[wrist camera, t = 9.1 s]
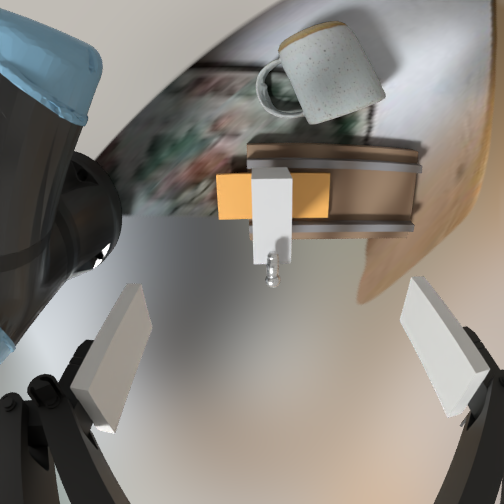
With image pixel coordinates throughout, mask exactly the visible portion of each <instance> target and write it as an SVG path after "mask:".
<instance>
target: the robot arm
mask: <svg viewBox="0 0 504 504" xmlns="http://www.w3.org/2000/svg"><path fill="white" fill-rule="evenodd" d="M102 69H103V66H102V59H101V57H100V54H99V53H98V51H97V50H96V49H95V48H94V47H93V46H91V45H89V44H87V43H85V42H83V41H81V40H79V39H77V38H75V37H72V36H70V35H68V34H66V33H63V32H61V31H59V30H56V29H54V28H51V27H49V26H47V25H44V24H42V23H39V22H37V21H34V20H32V19H29V18H27V17H24V16H21V15H18V14H15V13H13V12H10V11H7V10H4V9H1V8H0V364H1V363H2V362H3V361H4V360H5V359H6V357H7V356H8V355H9V354H10V353H11V352H14V350H15V349H16V347H15V346H16V344H17V343H18V342H19V341H20V339H21V338H22V336H23V335H24V333H25V332H26V331H27V329H28V328H29V327H30V326H31V324H32V323H33V322H34V320H35V319H36V318H37V316H38V315H39V313H40V312H41V311H42V310H43V309H44V308H45V306H46V305H47V304H48V303H49V301H50V300H51V299H52V297H53V296H54V295H55V294H56V293H57V291H58V290H59V289H60V288H61V286H62V285H63V284H64V283H65V282H66V281H67V280H69V279H72V278H74V277H76V276H79V275H81V274H83V273H86V272H88V271H90V270H92V269H94V268H96V267H97V266H98V265H100V264H101V263H102V262H103V261H104V260H105V259H106V258H107V256H108V255H109V254H110V253H111V252H112V250H113V249H114V247H115V246H116V244H117V241H118V239H119V236H120V232H121V226H122V211H121V204H120V200H119V197H118V194H117V191H116V189H115V186H114V184H113V183H112V181H111V179H110V178H109V176H108V175H107V173H106V172H105V171H104V170H103V168H102V167H101V166H100V165H99V164H98V163H96V162H95V161H94V160H92V159H91V158H89V157H88V156H86V155H84V154H82V153H78V152H75V151H74V149H75V146H76V144H77V141H78V138H79V135H80V133H81V130H82V128H83V126H85V125H86V123H87V121H88V116H87V113H88V110H89V107H90V105H91V101H92V99H93V96H94V93H95V90H96V88H97V85H98V83H99V80H100V78H101V75H102ZM400 322H401V324H402V326H403V328H404V330H405V332H406V334H407V335H408V337H409V339H410V341H411V343H412V345H413V347H414V349H415V351H416V353H417V355H418V357H419V358H420V361H421V363H422V365H423V367H424V369H425V371H426V373H427V375H428V377H429V379H430V381H431V383H432V385H433V387H434V389H435V391H436V393H437V396H438V398H439V400H440V402H441V405H442V407H443V409H444V411H445V413H446V416H447V417H448V418H449V417H452V416H455V415H459V414H461V413H462V412H463V411H464V409H465V408H466V406H467V405H468V406H469V408H470V410H471V411H470V412H469V413H468V415H467V416H466V417H465V419H464V420H463V421H462V423H461V425H460V426H461V427H462V426H463V424H464V423H465V425H464V429H463V432H462V434H461V438H460V441H459V443H458V446H457V449H456V452H455V455H454V458H453V460H452V463H451V465H450V468H449V470H448V473H447V475H446V477H445V480H444V482H443V484H442V487H441V489H440V491H439V493H438V495H437V498H436V500H435V502H434V504H494V503H495V500H496V497H497V494H498V491H499V488H500V484H501V481H502V491H501V501H500V504H504V370H500V369H499V367H498V366H497V364H496V363H495V361H494V360H493V358H492V357H491V355H490V354H489V352H488V351H487V349H486V348H485V346H484V345H483V343H482V342H480V341H481V340H480V339H479V338H478V336H477V335H476V334H475V332H473V331H472V330H471V329H470V328H468V327H462V326H461V325H460V323H459V322H458V320H457V319H456V318H455V316H454V315H453V314H452V312H451V311H450V310H449V308H448V307H447V305H446V304H445V303H444V301H443V300H442V299H441V297H440V296H439V295H438V294H437V292H436V291H435V290H434V288H433V287H432V286H431V285H430V283H429V282H428V281H427V280H426V278H425V277H424V276H418V277H411V280H410V284H409V288H408V292H407V296H406V299H405V303H404V307H403V310H402V314H401V317H400ZM152 328H153V327H152V324H151V320H150V316H149V313H148V309H147V305H146V301H145V297H144V293H143V289H142V285H141V284H127V285H126V286H125V288H124V290H123V292H122V293H121V295H120V296H119V298H118V300H117V302H116V303H115V305H114V306H113V308H112V310H111V312H110V313H109V315H108V317H107V319H106V320H105V322H104V324H103V326H102V327H101V329H100V331H99V333H98V335H97V336H96V338H95V340H85V341H84V342H83V343H82V344H81V345H80V346H79V347H78V348H77V350H76V352H75V353H74V355H73V358H72V359H71V360H70V362H69V365H68V366H67V368H66V369H65V371H64V373H63V375H62V377H61V379H60V381H59V382H57V380H56V379H55V377H54V376H52V375H49V374H43V375H39V376H37V377H36V378H34V379H33V380H32V381H31V382H30V384H29V386H28V389H27V393H28V395H29V396H30V397H31V399H32V400H28V401H24V400H23V399H22V398H21V396H20V395H19V394H17V393H13V392H12V393H8V394H5V395H4V396H3V397H2V398H1V399H0V504H60V501H59V495H58V489H57V482H56V474H55V465H56V468H57V471H58V473H59V476H60V478H61V481H62V484H63V486H64V488H65V491H66V493H67V495H68V498H69V500H70V502H71V504H130V502H129V501H128V499H127V497H126V496H125V494H124V492H123V490H122V489H121V487H120V485H119V484H118V482H117V480H116V478H115V477H114V475H113V473H112V471H111V469H110V467H109V465H108V464H107V462H106V460H105V458H104V456H103V454H102V452H101V450H100V448H99V446H98V444H97V442H96V440H95V437H94V435H93V433H92V432H91V431H90V429H91V426H92V424H93V423H94V425H95V426H96V428H97V429H98V430H99V431H104V432H109V433H114V434H115V432H116V429H117V426H118V423H119V420H120V417H121V414H122V411H123V408H124V405H125V402H126V399H127V396H128V393H129V391H130V388H131V385H132V382H133V379H134V377H135V374H136V371H137V368H138V365H139V363H140V360H141V357H142V355H143V352H144V349H145V347H146V344H147V341H148V339H149V336H150V334H151V331H152ZM54 463H55V465H54Z"/></svg>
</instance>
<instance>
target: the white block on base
mask: <svg viewBox="0 0 504 504" xmlns="http://www.w3.org/2000/svg"><path fill="white" fill-rule="evenodd" d="M216 181H217V196H218V211H219V220H222V219H252V221H253V253H254V264H267V255H268V253H269V252H270V251H276V252H277V253H278V255H279V264H283V263H291V238H292V218H328V207H329V188H330V173H329V172H289V170H288V168H287V167H266V168H252V173H227V174H216Z"/></svg>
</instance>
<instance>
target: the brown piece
mask: <svg viewBox="0 0 504 504" xmlns="http://www.w3.org/2000/svg"><path fill="white" fill-rule="evenodd" d="M417 161H418V151H415V150H412V149H403V148H393V147H381V146H367V145H351V144H328V143H247V169H248V173H252V168H266V167H287V168H288V170H289V172H329V173H330V188H329V207H328V218H292V238H291V239H346V238H347V239H348V238H407V236H408V232H413V231H414V224H413V223H412V222H411V221H410V218H411V211H412V204H413V197H414V189H415V181H416V173H422V166H421V165H419V164H417ZM249 233H250V240H253V221H252V219H249Z"/></svg>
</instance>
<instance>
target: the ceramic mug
mask: <svg viewBox="0 0 504 504" xmlns="http://www.w3.org/2000/svg"><path fill="white" fill-rule="evenodd" d="M278 52H279V56H280V57H279V59H277V60H274V61H272V62H270V63H269V64H268V65H266V66H265V67H264V68H263V69H262V70H261V71H260V73H259V75H258V78H257V81H256V93H257V96H258V99H259V101H260V103H261V105H262V106H263V108H264V109H265V110H266V111H267V112H269V113H270V114H272V115H275V116H277V117H281V118H299V117H303V116H305V117H306V119H307V121H308V123H309V124H318V123H322V122H325V121H328V120H331V119H334V118H337V117H340V116H343V115H346V114H349V113H351V112H354V111H357V110H360V109H362V108H365V107H367V106H369V105H372V104H375V103H377V102H380V101H381V100H383V99H384V98H385V97H386V95H385V92H384V90H383V88H382V86H381V84H380V82H379V80H378V78H377V76H376V74H375V72H374V70H373V68H372V66H371V64H370V62H369V60H368V58H367V56H366V55H365V53H364V51H363V49H362V47H361V45H360V43H359V41H358V40H357V38H356V36H355V35H354V33H353V32H352V31H351V30H350V28H349V27H348V26H347V25H346V24H344V23H342V22H339V21H330V22H325V23H321V24H318V25H314V26H312V27H309V28H307V29H304V30H302V31H300V32H298V33H296V34H294V35H292V36H290V37H289V38H287V39H286V40H284V41H283V42H282V43H281V45H280V47H279V50H278ZM281 63H282V66H283V68H284V70H285V72H286V74H287V76H288V78H289V80H290V82H291V84H292V86H293V88H294V91H295V93H296V96H297V98H298V100H299V103H300V105H301V107H302V110H303V111H302V112H297V113H286V112H282V111H279V110H277V109H276V108H275V106H273V104H272V102H271V99H270V97H269V95H268V91H267V85H266V84H265V78H266V76H267V74H268V73H269V72H270V71H271V70H272V69H273V68H274V67H276V66H277V65H279V64H281Z"/></svg>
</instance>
